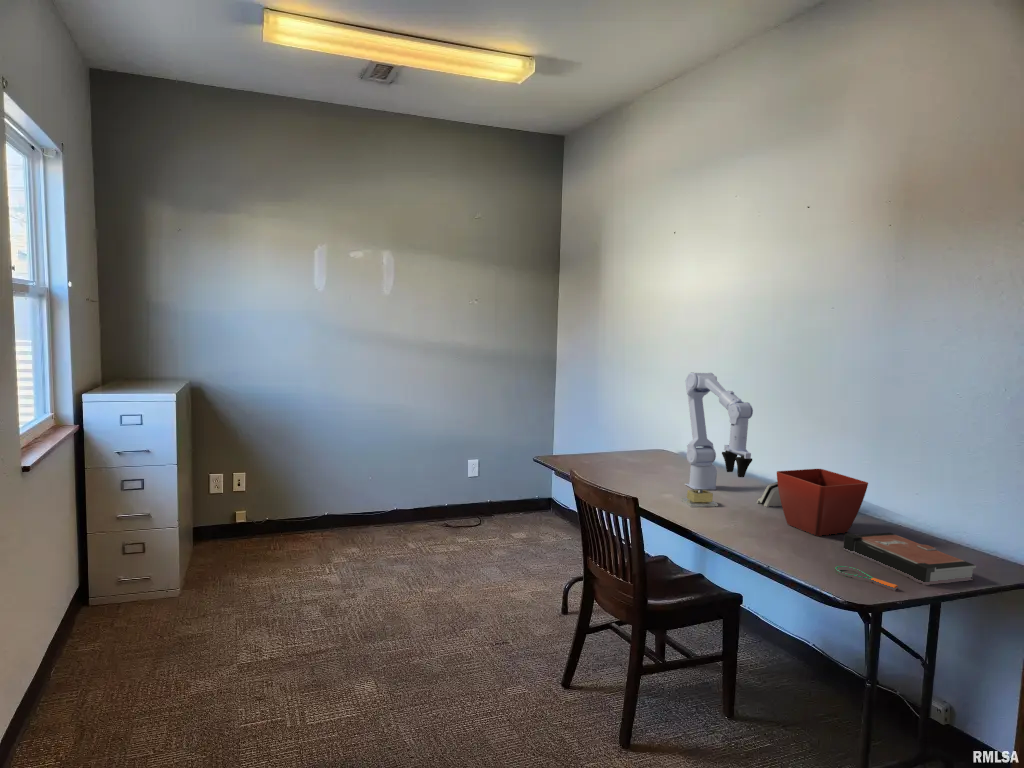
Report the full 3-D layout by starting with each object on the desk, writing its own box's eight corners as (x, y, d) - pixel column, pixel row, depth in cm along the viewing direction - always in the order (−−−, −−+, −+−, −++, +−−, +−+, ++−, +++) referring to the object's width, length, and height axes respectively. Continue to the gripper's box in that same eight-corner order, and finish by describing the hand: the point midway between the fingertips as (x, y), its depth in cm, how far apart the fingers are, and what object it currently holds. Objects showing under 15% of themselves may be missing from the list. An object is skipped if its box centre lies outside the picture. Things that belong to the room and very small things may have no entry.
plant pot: (817, 541, 197) (822, 485, 196) (770, 522, 215) (774, 470, 213) (864, 536, 205) (870, 482, 203) (815, 518, 222) (820, 468, 221)
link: (705, 498, 236) (705, 489, 236) (712, 502, 231) (712, 493, 231) (686, 498, 235) (687, 489, 234) (693, 502, 230) (694, 493, 229)
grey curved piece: (792, 500, 244) (801, 477, 240) (801, 508, 240) (810, 484, 236) (755, 502, 238) (764, 479, 234) (764, 510, 234) (773, 487, 230)
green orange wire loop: (830, 572, 174) (830, 566, 173) (843, 569, 177) (843, 562, 177) (889, 594, 161) (889, 587, 161) (902, 590, 164) (903, 583, 164)
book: (976, 582, 172) (978, 563, 172) (924, 587, 167) (926, 568, 166) (890, 547, 197) (892, 530, 196) (843, 551, 191) (844, 534, 191)
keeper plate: (707, 500, 237) (708, 487, 237) (717, 506, 231) (718, 492, 230) (681, 501, 235) (682, 487, 235) (690, 506, 229) (691, 492, 228)
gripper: (717, 432, 242) (714, 469, 243) (738, 440, 228) (735, 479, 229) (735, 433, 243) (732, 469, 244) (757, 440, 229) (754, 479, 230)
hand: (735, 474), depth 237 cm, fingers open, 7 cm apart
